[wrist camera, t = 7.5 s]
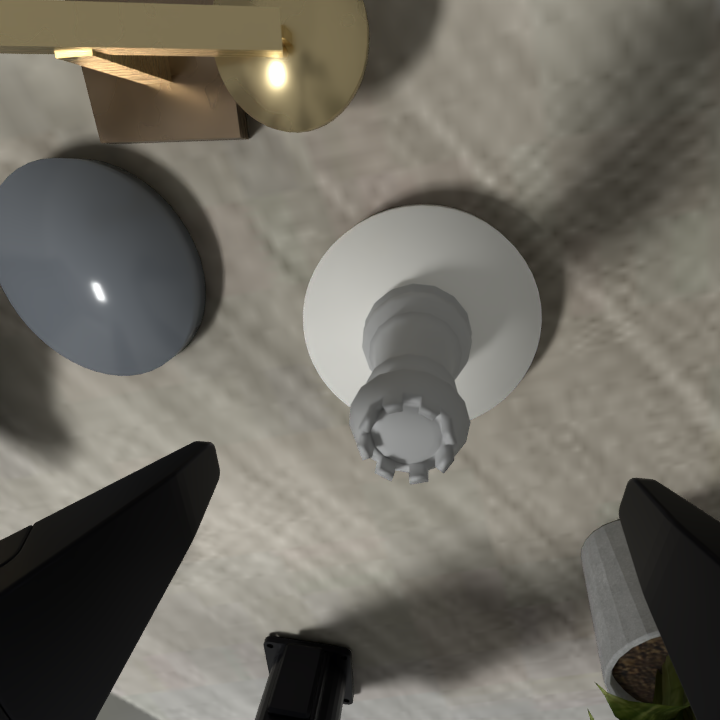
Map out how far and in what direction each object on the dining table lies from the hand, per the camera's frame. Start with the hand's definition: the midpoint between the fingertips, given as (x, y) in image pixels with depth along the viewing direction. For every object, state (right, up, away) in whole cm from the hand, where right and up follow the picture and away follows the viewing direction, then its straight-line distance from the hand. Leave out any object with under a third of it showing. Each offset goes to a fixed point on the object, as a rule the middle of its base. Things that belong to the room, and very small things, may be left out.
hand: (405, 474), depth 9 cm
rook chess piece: (+1, +4, +9) cm, 10 cm away
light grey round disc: (+2, +4, +10) cm, 11 cm away
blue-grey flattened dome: (-13, +7, +11) cm, 18 cm away
